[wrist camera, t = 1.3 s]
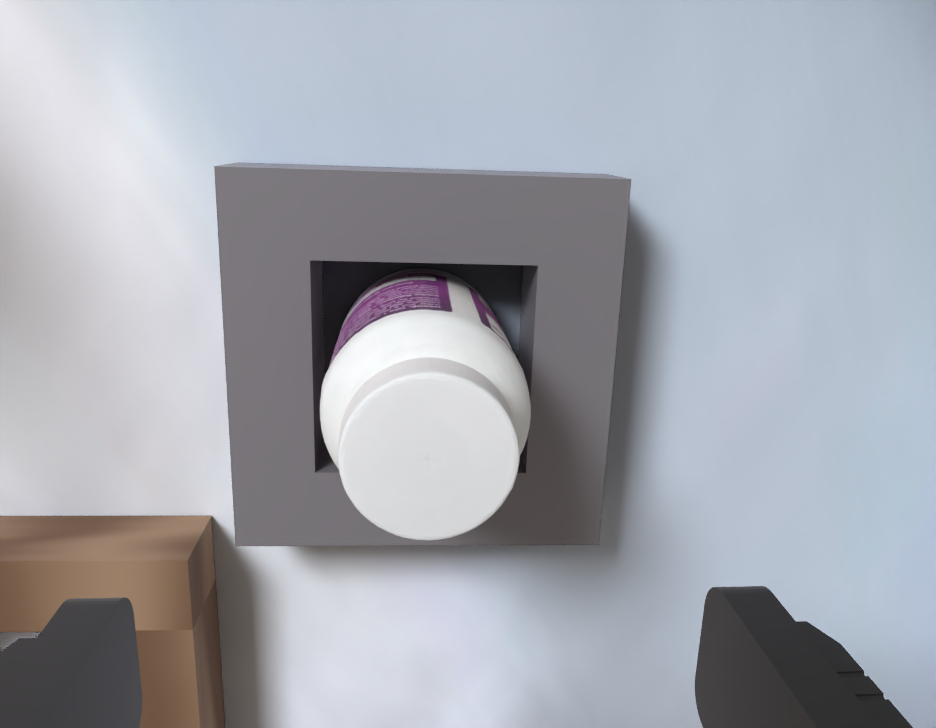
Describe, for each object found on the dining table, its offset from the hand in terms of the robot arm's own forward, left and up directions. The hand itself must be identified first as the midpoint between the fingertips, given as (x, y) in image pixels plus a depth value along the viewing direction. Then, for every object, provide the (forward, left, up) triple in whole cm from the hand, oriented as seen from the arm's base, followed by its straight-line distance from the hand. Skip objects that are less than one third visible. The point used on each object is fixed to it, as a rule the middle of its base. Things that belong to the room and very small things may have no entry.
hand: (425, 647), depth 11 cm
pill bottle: (0, 0, -16) cm, 16 cm away
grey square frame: (0, 0, -16) cm, 16 cm away
